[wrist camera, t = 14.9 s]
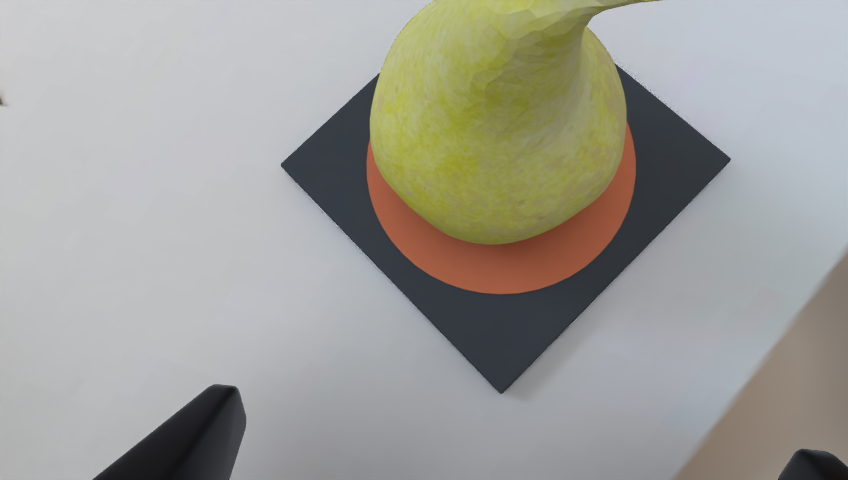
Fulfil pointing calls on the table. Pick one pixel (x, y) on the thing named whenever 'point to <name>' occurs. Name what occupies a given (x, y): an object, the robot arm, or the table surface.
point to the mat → (512, 262)
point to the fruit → (499, 115)
